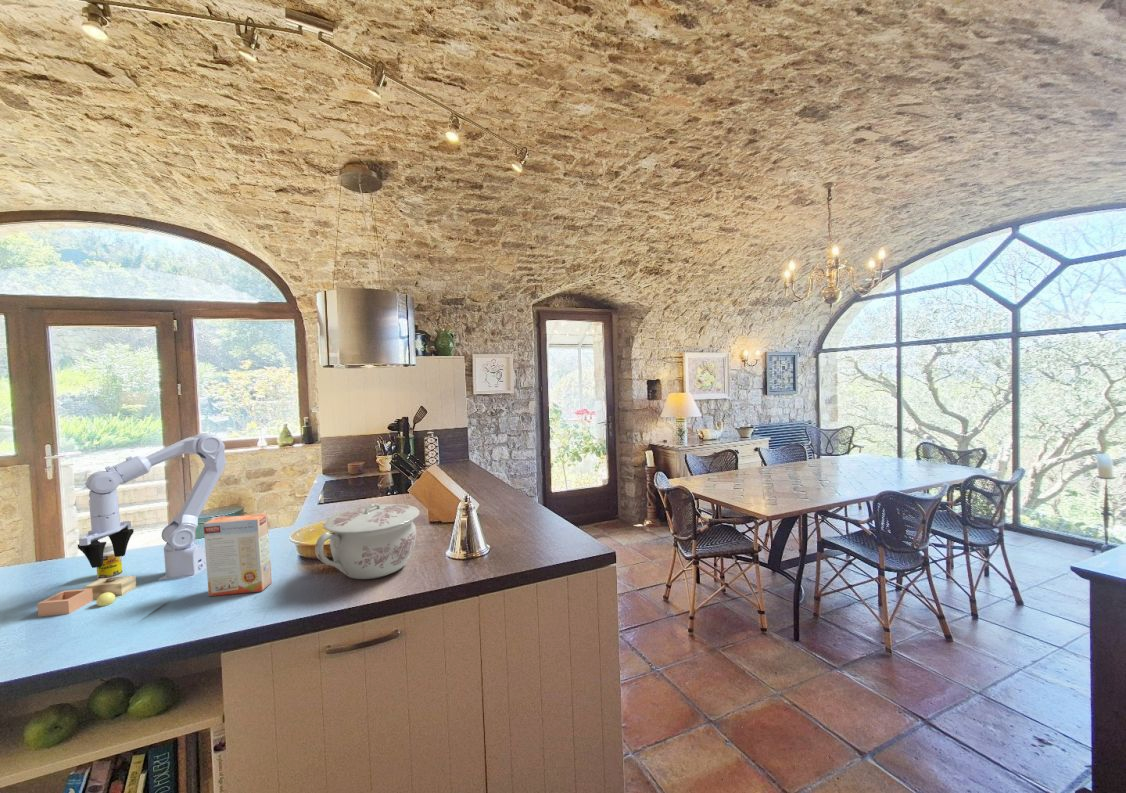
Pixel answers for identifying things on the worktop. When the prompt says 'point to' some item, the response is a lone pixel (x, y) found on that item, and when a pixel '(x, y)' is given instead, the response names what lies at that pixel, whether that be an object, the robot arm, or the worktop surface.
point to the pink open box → (65, 602)
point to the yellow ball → (105, 599)
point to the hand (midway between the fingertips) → (108, 561)
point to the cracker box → (237, 554)
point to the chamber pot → (370, 540)
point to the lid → (113, 585)
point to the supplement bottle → (109, 563)
